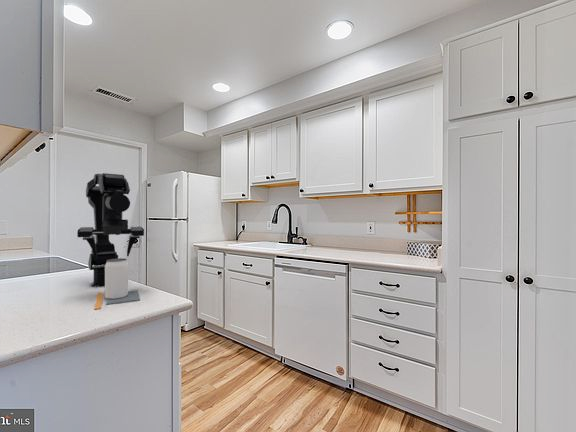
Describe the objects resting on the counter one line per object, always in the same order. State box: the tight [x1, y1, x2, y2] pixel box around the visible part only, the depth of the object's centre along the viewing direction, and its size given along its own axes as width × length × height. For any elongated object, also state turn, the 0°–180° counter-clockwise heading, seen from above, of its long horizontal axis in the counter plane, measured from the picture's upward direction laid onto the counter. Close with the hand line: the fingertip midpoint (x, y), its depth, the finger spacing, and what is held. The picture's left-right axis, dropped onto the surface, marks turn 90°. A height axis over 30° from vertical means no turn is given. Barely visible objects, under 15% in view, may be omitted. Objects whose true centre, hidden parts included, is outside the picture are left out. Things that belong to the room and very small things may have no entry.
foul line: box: [93, 291, 104, 311], centre depth 89 cm, size 18×2×1 cm, turn 31°
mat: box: [105, 289, 141, 306], centre depth 92 cm, size 12×9×1 cm
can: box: [104, 257, 129, 300], centre depth 92 cm, size 6×6×12 cm
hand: (112, 257), depth 96 cm, fingers open, 9 cm apart
